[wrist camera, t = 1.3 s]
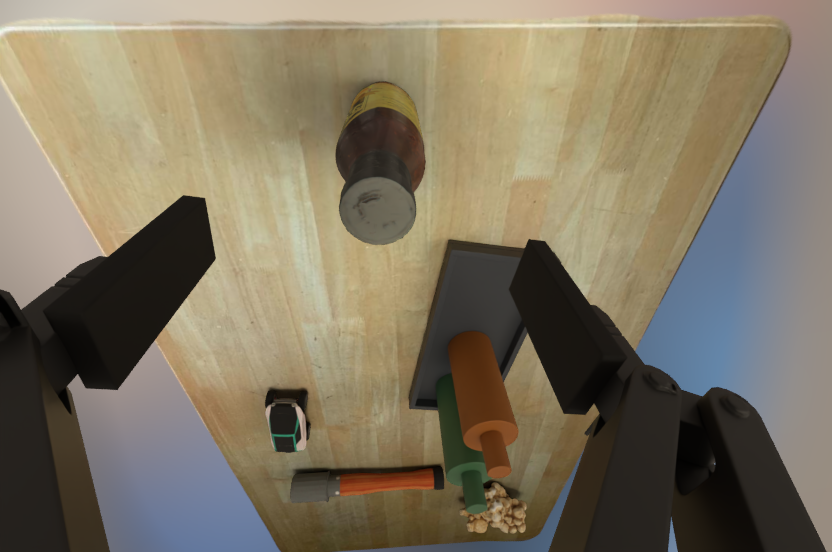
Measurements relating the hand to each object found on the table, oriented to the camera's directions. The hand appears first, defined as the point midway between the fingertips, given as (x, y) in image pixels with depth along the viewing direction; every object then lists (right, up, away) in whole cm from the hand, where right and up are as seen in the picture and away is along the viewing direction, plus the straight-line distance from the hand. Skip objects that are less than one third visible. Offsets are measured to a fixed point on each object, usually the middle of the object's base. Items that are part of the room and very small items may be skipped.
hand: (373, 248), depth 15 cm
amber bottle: (+10, -12, +37) cm, 40 cm away
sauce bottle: (-1, +14, +19) cm, 24 cm away
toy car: (-19, -24, +45) cm, 54 cm away
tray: (+10, -10, +37) cm, 40 cm away
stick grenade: (-8, -41, +59) cm, 72 cm away
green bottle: (+8, -19, +42) cm, 47 cm away
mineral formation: (+20, -53, +69) cm, 89 cm away
